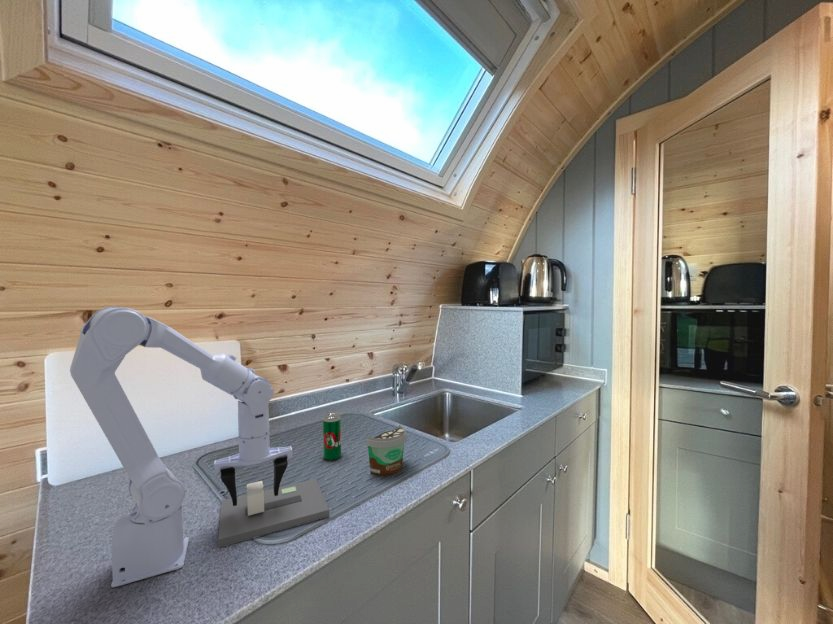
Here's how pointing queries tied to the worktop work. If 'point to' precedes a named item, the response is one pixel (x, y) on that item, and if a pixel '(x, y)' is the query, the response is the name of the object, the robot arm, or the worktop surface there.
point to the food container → (386, 452)
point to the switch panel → (272, 512)
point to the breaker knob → (255, 498)
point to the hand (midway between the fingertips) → (255, 498)
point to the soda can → (331, 436)
